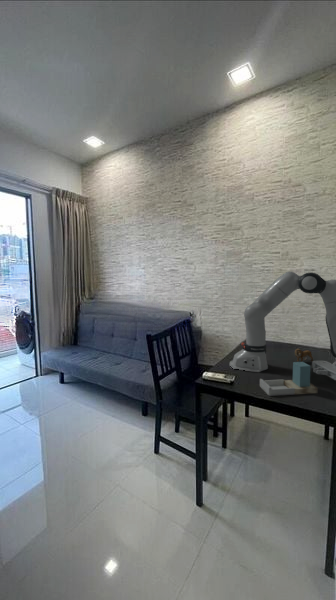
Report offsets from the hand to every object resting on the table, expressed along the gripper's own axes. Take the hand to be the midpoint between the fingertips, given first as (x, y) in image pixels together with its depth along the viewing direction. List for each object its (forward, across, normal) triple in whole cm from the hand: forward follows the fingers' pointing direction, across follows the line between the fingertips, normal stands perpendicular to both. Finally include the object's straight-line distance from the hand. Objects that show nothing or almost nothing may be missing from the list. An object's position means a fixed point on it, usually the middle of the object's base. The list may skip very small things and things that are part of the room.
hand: (315, 371), depth 122 cm
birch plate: (+8, 0, +8) cm, 11 cm away
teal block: (+7, 0, +6) cm, 9 cm away
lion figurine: (-17, -36, +9) cm, 41 cm away
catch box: (+19, 0, +8) cm, 21 cm away
